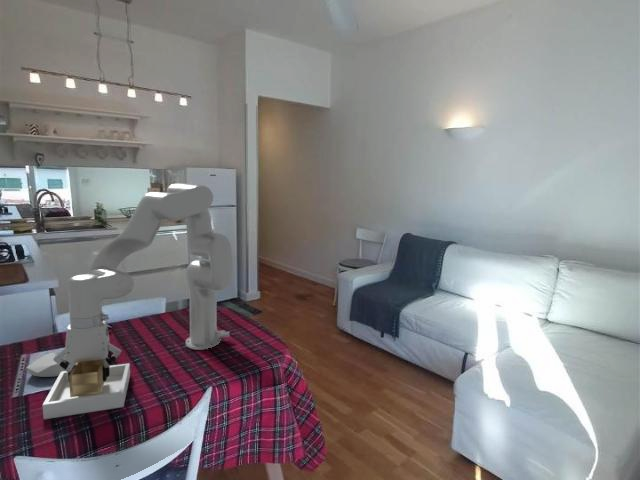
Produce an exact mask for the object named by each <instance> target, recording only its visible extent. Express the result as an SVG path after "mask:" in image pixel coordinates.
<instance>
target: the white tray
mask: <svg viewBox="0 0 640 480" xmlns="http://www.w3.org/2000/svg"><path fill="white" fill-rule="evenodd" d="M130 365H131V363H122V364H113V365H111V364H110V365H109V370H110V375H109V377H107V379H106V381H105V382H104V385H103V388H102V391H101V393H99V394H92V395H84V396H77V397H70V384H69V381H68V372H66V371H62V372H61V373H60V374H59V375H58V376H57V378H56V380H55V382H54V384H53V385H52V387H51V389H50V390H49V393H48V394H47V396H46V397H45V400H44V401H43V403H42V414H43V420H48V419H49V420H50V419H54V418H55V419H56V418H61V417H62V418H63V417H68V416H73V415H80V414H87V413H92V412H93V413H94V412H98V411H99V412H100V411H105V410H111V409H112V410H113V409H118V408H124V407H125V402H126V396H127V393H128V392H127V391H128V388H129V382H130V378H131V366H130Z"/></svg>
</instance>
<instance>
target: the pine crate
mask: <svg viewBox="0 0 640 480" xmlns="http://www.w3.org/2000/svg"><path fill="white" fill-rule="evenodd" d="M104 382H105V381H103V364H102V363H101V361H100V360H96V361H87V362H78V363H75V365H74V367H73V369H72V371H71V373H70V375H69V384H70V397H77V396H84V395H92V394H99V393H101V391H102V388H103V385H104Z"/></svg>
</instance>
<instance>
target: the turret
mask: <svg viewBox="0 0 640 480" xmlns="http://www.w3.org/2000/svg"><path fill="white" fill-rule="evenodd" d="M57 354H58V353H55V352H52V353H46V354H44V355H42V356H40V357H39V358H37V359H35V360H33V361H32V362H31V363H29V365H27V366H26V370H27V373H28V374H29V375H32V376H35V377H41V378H45V377H46V378H48V377H49V378H50V377H58V376H59V374H60V373H61V372H62V371H66V370H65V369H64V368H62V367H61V366H60V365H59V364H57V363H56V362H55V361H54V360H53V359H54V357H55V356H56V355H57ZM62 358H63V360H66V357H65V355H64V356H63V357H62ZM74 365H75V364H74Z"/></svg>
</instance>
